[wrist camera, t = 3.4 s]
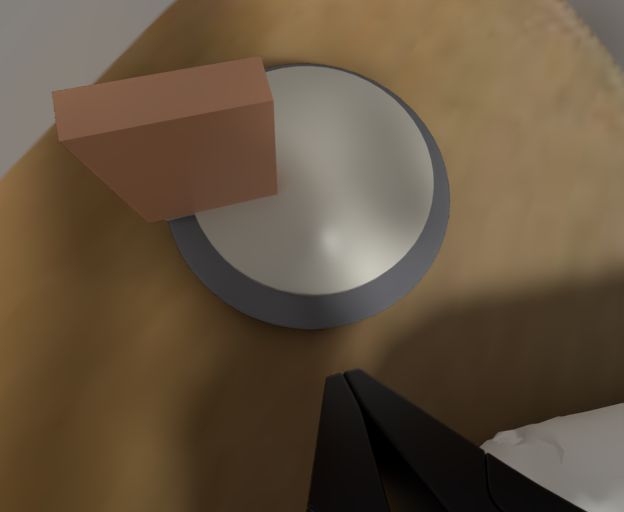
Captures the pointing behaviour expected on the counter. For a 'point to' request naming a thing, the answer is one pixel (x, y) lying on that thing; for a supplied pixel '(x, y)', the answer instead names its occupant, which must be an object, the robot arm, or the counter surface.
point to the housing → (331, 307)
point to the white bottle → (571, 456)
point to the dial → (263, 166)
